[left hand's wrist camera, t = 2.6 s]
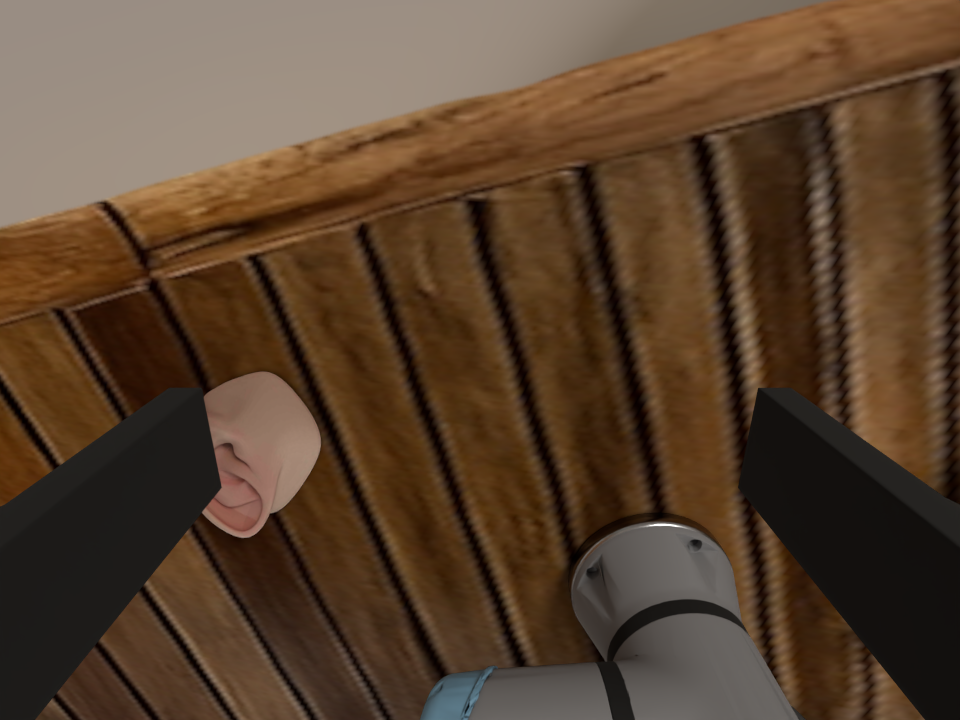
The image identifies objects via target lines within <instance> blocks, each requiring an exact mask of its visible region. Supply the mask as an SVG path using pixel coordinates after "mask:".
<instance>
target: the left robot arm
mask: <svg viewBox="0 0 960 720" xmlns="http://www.w3.org/2000/svg"><path fill="white" fill-rule="evenodd" d="M221 488H222V486H221V481H220V476H219V471H218V466H217V461H216V456H215V451H214V446H213V441H212V436H211V431H210V426H209V421H208V416H207V411H206V406H205V402H204V397H203V392H202V388H169V389H167V390H166V391H164V392H163V393H161V394H160V395H159V396H157V397H156V398H154V399H153V400H152V401H150V402H149V403H147V404H146V405H145V406H143V407H142V408H140V409H139V410H138V411H136V412H135V413H133V414H132V415H131V416H129V417H128V418H126V419H125V420H123V421H122V422H121V423H119V424H118V425H116V426H115V427H114V428H112V429H111V430H109V431H108V432H107V433H105V434H104V435H102V436H101V437H100V438H98V439H97V440H95V441H94V442H92V443H91V444H90V445H88V446H87V447H85V448H84V449H83V450H81V451H80V452H78V453H77V454H76V455H74V456H73V457H71V458H70V459H69V460H67V461H66V462H64V463H63V464H62V465H60V466H59V467H57V468H56V469H54V470H53V471H52V472H50V473H49V474H47V475H46V476H45V477H43V478H42V479H40V480H39V481H38V482H36V483H35V484H33V485H32V486H31V487H29V488H28V489H26V490H25V491H23V492H22V493H21V494H19V495H18V496H16V497H15V498H14V499H12V500H11V501H9V502H8V503H7V504H5V505H3V506H1V507H0V720H35V719H36V718H37V716H38V715H39V714H40V713H41V712H42V710H43V709H44V708H45V707H46V705H47V704H48V703H49V702H50V700H51V699H52V698H53V697H54V695H55V694H56V693H57V692H58V690H59V689H60V688H61V687H62V685H63V684H64V683H65V682H66V680H67V679H68V678H69V677H70V676H71V674H72V673H73V672H74V671H75V669H76V668H77V667H78V666H79V664H80V663H81V662H82V661H83V659H84V658H85V657H86V656H87V654H88V653H89V652H90V651H91V649H92V648H93V647H94V646H95V644H96V643H97V642H98V641H99V640H100V638H101V637H102V636H103V635H104V633H105V632H106V631H107V630H108V628H109V627H110V626H111V625H112V623H113V622H114V621H115V620H116V618H117V617H118V616H119V615H120V613H121V612H122V611H123V610H124V608H125V607H126V606H127V605H128V604H129V602H130V601H131V600H132V599H133V597H134V596H135V595H136V594H137V592H138V591H139V590H140V589H141V587H142V586H143V585H144V584H145V582H146V581H147V580H148V579H149V577H150V576H151V575H152V574H153V573H154V571H155V570H156V569H157V568H158V566H159V565H160V564H161V563H162V561H163V560H164V559H165V558H166V556H167V555H168V554H169V553H170V551H171V550H172V549H173V548H174V546H175V545H176V544H177V543H178V541H179V540H180V539H181V538H182V537H183V535H184V534H185V533H186V532H187V530H188V529H189V528H190V527H191V525H192V524H193V523H194V522H195V520H196V519H197V518H198V517H199V515H200V514H201V513H202V512H203V510H204V509H205V508H206V507H207V505H208V504H209V503H210V502H211V501H212V499H213V498H214V497H215V496H216V494H217V493H218V492H219V491H220V489H221ZM738 488H739V489H740V491H741V492H742V493H743V494H744V496H745V497H746V498H747V499H748V501H749V502H750V503H751V504H752V505H753V507H754V508H755V509H756V510H757V512H758V513H759V514H760V515H761V517H762V518H763V519H764V520H765V522H766V523H767V524H768V525H769V527H770V528H771V529H772V530H773V532H774V533H775V534H776V535H777V537H778V538H779V539H780V540H781V541H782V543H783V544H784V545H785V546H786V548H787V549H788V550H789V551H790V553H791V554H792V555H793V556H794V558H795V559H796V560H797V561H798V563H799V564H800V565H801V566H802V568H803V569H804V570H805V571H806V573H807V574H808V575H809V576H810V577H811V579H812V580H813V581H814V582H815V584H816V585H817V586H818V587H819V589H820V590H821V591H822V592H823V594H824V595H825V596H826V597H827V599H828V600H829V601H830V602H831V604H832V605H833V606H834V607H835V608H836V610H837V611H838V612H839V613H840V615H841V616H842V617H843V618H844V620H845V621H846V622H847V623H848V625H849V626H850V627H851V628H852V630H853V631H854V632H855V633H856V635H857V636H858V637H859V638H860V640H861V641H862V642H863V643H864V644H865V646H866V647H867V648H868V649H869V651H870V652H871V653H872V654H873V656H874V657H875V658H876V659H877V661H878V662H879V663H880V664H881V666H882V667H883V668H884V669H885V671H886V672H887V673H888V674H889V676H890V677H891V678H892V679H893V680H894V682H895V683H896V684H897V685H898V687H899V688H900V689H901V690H902V692H903V693H904V694H905V695H906V697H907V698H908V699H909V700H910V702H911V703H912V704H913V705H914V707H915V708H916V709H917V710H918V712H919V713H920V714H921V715H922V716H923V718H924V719H925V720H960V504H958V503H956V502H953V501H951V500H949V499H947V498H945V497H944V496H942V495H941V494H939V493H938V492H937V491H935V490H934V489H932V488H931V487H929V486H928V485H927V484H925V483H924V482H922V481H921V480H920V479H918V478H917V477H915V476H914V475H913V474H911V473H910V472H908V471H907V470H906V469H904V468H903V467H901V466H900V465H898V464H897V463H896V462H894V461H893V460H891V459H890V458H889V457H887V456H886V455H884V454H883V453H882V452H880V451H879V450H877V449H876V448H875V447H873V446H872V445H870V444H869V443H868V442H866V441H865V440H863V439H862V438H860V437H859V436H858V435H856V434H855V433H853V432H852V431H851V430H849V429H848V428H846V427H845V426H844V425H842V424H841V423H839V422H838V421H837V420H835V419H834V418H832V417H831V416H829V415H828V414H827V413H825V412H824V411H822V410H821V409H820V408H818V407H817V406H815V405H814V404H813V403H811V402H810V401H808V400H807V399H806V398H804V397H803V396H801V395H800V394H799V393H797V392H796V391H794V390H793V389H791V388H758V392H757V397H756V402H755V406H754V411H753V416H752V421H751V426H750V431H749V436H748V441H747V446H746V451H745V456H744V461H743V466H742V471H741V476H740V481H739V486H738ZM569 591H570V596H571V601H572V605H573V609H574V612H575V614H576V617H577V619H578V620H579V622H580V623H581V625H582V626H583V628H584V629H585V631H586V632H587V634H588V635H589V637H590V638H591V640H592V641H593V643H594V644H595V646H596V647H597V649H598V650H599V652H600V653H601V655H602V656H603V658H604V660H605V661H606V662H588V663H573V664H558V665H543V666H528V667H513V668H498V667H497V666H489V667H487V668H486V669H484V670H476V671H469V672H461V673H453V674H449V675H447V676H445V677H443V678H442V679H441V680H439V681H438V682H437V683H436V684H435V686H434V687H433V689H432V690H431V692H430V694H429V696H428V698H427V701H426V703H425V705H424V708H423V712H422V715H421V718H420V720H806V719H805V718H804V717H803V716H802V715H801V714H800V713H799V712H797V711H796V710H795V709H794V708H793V707H792V706H791V705H790V704H789V702H788V700H787V699H786V697H785V695H784V694H783V692H782V690H781V688H780V687H779V685H778V683H777V682H776V680H775V678H774V677H773V675H772V673H771V671H770V670H769V668H768V666H767V665H766V663H765V661H764V659H763V658H762V656H761V654H760V653H759V651H758V649H757V648H756V646H755V644H754V642H753V641H752V639H751V638H750V636H749V634H748V632H747V631H746V629H745V627H744V625H743V624H742V621H741V615H740V609H739V604H738V598H737V592H736V586H735V580H734V574H733V569H732V566H731V563H730V561H729V559H728V557H727V555H726V554H725V552H724V551H723V549H722V547H721V546H720V544H719V543H718V541H717V540H716V538H715V537H714V536H713V535H712V534H711V533H710V532H709V531H708V530H707V529H706V528H704V527H703V526H701V525H700V524H698V523H696V522H694V521H692V520H690V519H688V518H685V517H682V516H678V515H673V514H667V513H644V514H638V515H633V516H629V517H626V518H623V519H620V520H617V521H615V522H613V523H611V524H609V525H607V526H605V527H603V528H602V529H600V530H599V531H597V532H596V533H595V534H593V535H592V536H591V537H590V538H589V539H588V540H587V541H586V542H585V543H584V544H583V545H582V547H581V548H580V549H579V551H578V552H577V554H576V556H575V558H574V560H573V562H572V565H571V568H570V573H569Z"/></svg>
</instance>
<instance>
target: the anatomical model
mask: <svg viewBox="0 0 960 720" xmlns="http://www.w3.org/2000/svg"><path fill="white" fill-rule="evenodd" d="M204 402H205V406H206V411H207V416H208V421H209V426H210V431H211V436H212V441H213V446H214V451H215V456H216V461H217V466H218V471H219V476H220V481H221V486H222V488H221V489H220V491H219V492H218V493H217V494H216V496H215V497H214V498H213V499H212V501H211V502H210V503H209V504H208V505H207V507H206V508H205V509H204V510H203V512H202V513H203V514H204V515H205V516H206V517H207V518H208V519H209V520H210V521H211V522H212V523H213V524H215V525H216V526H217V527H219V528H220V529H222V530H224V531H225V532H227V533H229V534H231V535H233V536H237V537H241V538H246V537H250V536H253V535H254V534H256V533H257V532H258V531H259V530H260V529H261V528H262V527H263V525H264V524H265V522H266V520H267V518H268V516H269V514H270V513H274V512H277V511H279V510H280V509H282V508H283V507H284V506H285V505H286V504H287V503H288V502H289V501H290V500H291V499H292V498H293V497H294V495H295V494H296V493H297V491H298V490H299V489H300V487H301V486H302V484H303V483H304V481H305V480H306V478H307V477H308V475H309V474H310V472H311V470H312V468H313V466H314V464H315V462H316V460H317V458H318V455H319V452H320V447H321V437H320V433H319V429H318V427H317V424H316V422H315V420H314V418H313V416H312V415H311V413H310V411H309V410H308V408H307V407H306V406H305V404H304V403H303V402H302V400H301V399H300V398H299V397H298V395H297V394H296V393H295V392H294V391H293V389H292V388H291V387H290V386H289V385H288V384H287V383H286V382H284V381H283V380H282V379H281V378H279V377H278V376H276V375H275V374H272V373H269V372H256V373H251V374H247V375H244V376H241V377H239V378H236V379H233V380H230V381H228V382H225V383H224V384H222V385H220V386H218V387H216V388H215V389H213V390H211V391H210V392H208V393H207V394H206V395H205V396H204Z"/></svg>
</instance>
